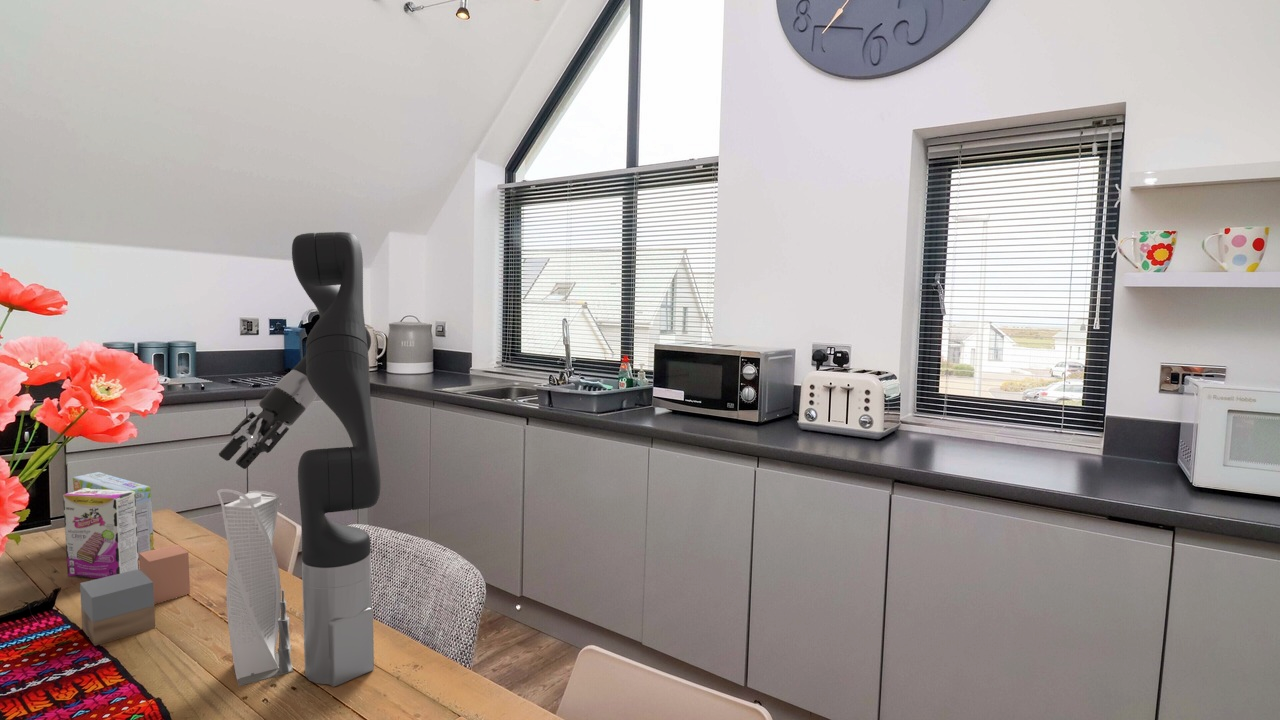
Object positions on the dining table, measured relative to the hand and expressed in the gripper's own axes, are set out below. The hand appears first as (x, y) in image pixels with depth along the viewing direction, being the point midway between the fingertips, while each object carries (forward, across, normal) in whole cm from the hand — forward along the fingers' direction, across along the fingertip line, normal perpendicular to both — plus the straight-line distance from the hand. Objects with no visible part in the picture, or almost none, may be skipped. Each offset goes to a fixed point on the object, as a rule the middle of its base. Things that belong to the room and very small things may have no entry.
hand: (231, 462), depth 132 cm
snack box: (+25, -33, +8) cm, 42 cm away
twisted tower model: (+24, +38, +8) cm, 46 cm away
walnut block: (+31, +9, +1) cm, 32 cm away
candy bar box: (+28, -19, +4) cm, 34 cm away
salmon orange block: (+24, 0, +8) cm, 26 cm away
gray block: (+28, +9, -1) cm, 29 cm away
